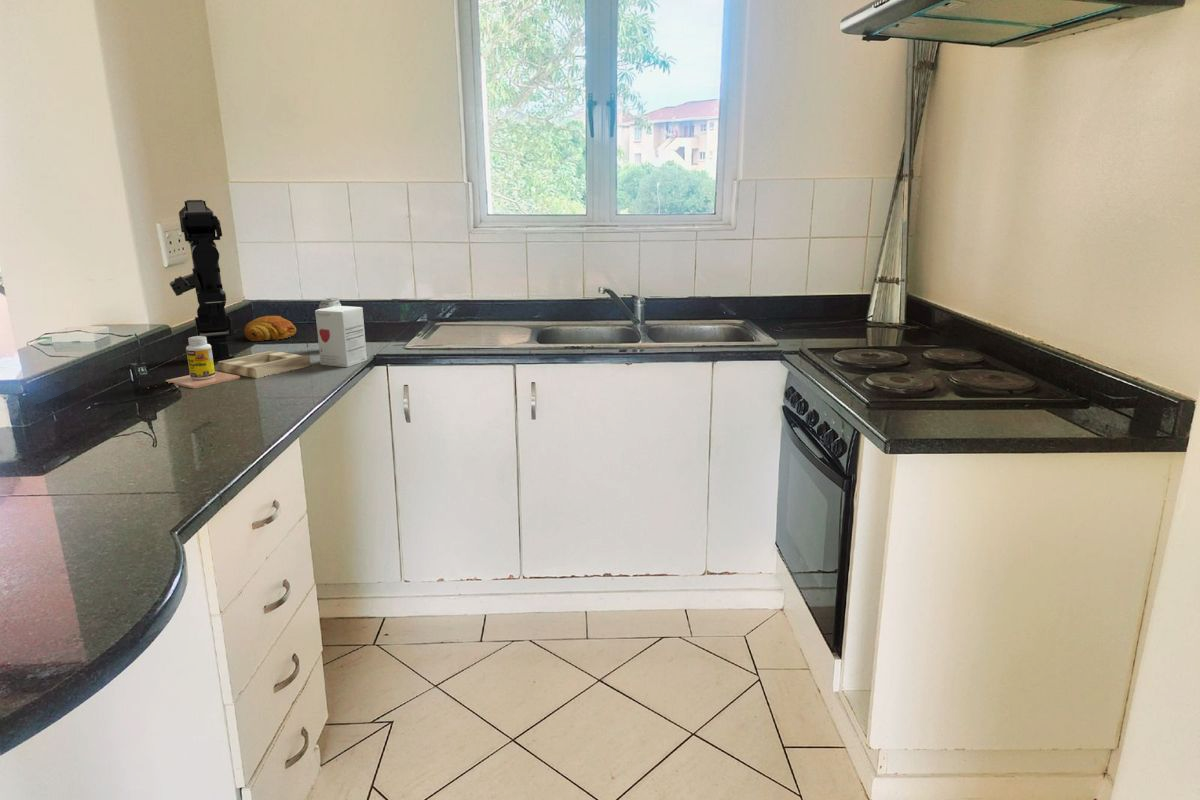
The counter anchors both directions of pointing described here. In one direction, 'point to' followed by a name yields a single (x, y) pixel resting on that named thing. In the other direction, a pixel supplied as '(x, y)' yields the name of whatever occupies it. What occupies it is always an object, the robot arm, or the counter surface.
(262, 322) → the croissant
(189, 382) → the terracotta tile
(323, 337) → the supplement box
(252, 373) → the board
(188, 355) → the supplement bottle
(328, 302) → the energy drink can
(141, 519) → the counter surface
